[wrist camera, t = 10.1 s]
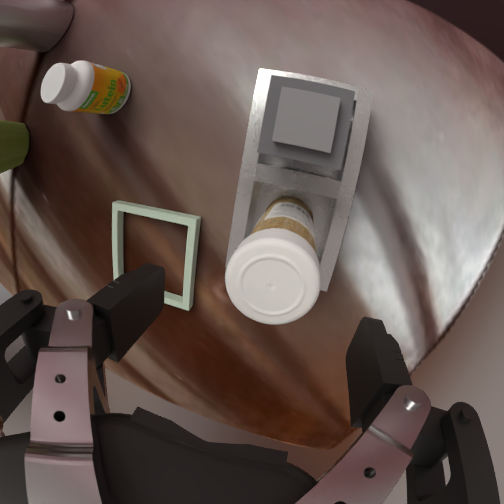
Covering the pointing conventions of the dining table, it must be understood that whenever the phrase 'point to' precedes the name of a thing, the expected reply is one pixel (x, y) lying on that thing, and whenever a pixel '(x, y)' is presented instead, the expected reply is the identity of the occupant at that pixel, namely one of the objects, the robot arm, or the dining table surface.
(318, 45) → the dining table surface
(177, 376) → the dining table surface
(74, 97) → the supplement bottle
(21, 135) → the plant pot
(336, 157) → the grey stepped square plug
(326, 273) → the divided grey caddy
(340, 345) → the dining table surface
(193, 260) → the tray frame
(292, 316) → the sprinkles bottle
